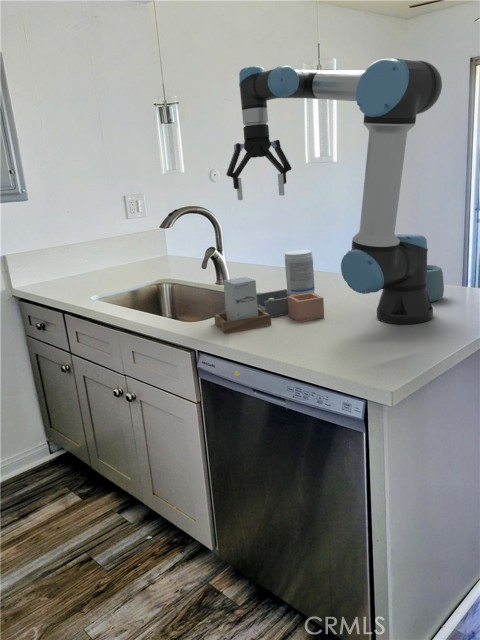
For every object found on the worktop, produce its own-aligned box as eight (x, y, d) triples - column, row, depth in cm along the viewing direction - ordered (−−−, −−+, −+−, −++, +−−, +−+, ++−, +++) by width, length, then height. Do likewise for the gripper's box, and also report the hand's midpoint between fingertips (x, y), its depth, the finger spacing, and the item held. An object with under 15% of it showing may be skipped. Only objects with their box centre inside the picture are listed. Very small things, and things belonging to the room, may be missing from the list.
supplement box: (236, 327, 149) (232, 284, 146) (226, 321, 156) (222, 279, 152) (259, 322, 152) (256, 279, 149) (249, 316, 159) (245, 275, 155)
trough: (271, 325, 151) (270, 315, 150) (224, 333, 147) (223, 323, 146) (259, 316, 161) (258, 306, 160) (215, 323, 157) (214, 314, 157)
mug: (398, 293, 172) (398, 263, 169) (433, 290, 171) (433, 260, 168) (411, 305, 158) (411, 272, 155) (449, 302, 157) (449, 269, 154)
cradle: (300, 312, 161) (299, 294, 160) (267, 318, 158) (265, 300, 157) (286, 303, 172) (285, 287, 170) (255, 309, 169) (253, 292, 167)
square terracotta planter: (324, 317, 154) (323, 297, 152) (299, 321, 152) (297, 301, 150) (312, 311, 161) (311, 292, 159) (288, 315, 159) (287, 296, 157)
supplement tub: (320, 292, 182) (318, 250, 178) (299, 298, 177) (296, 255, 173) (302, 288, 190) (300, 248, 186) (281, 294, 185) (278, 252, 181)
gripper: (289, 123, 162) (293, 193, 168) (212, 128, 156) (219, 201, 162) (299, 120, 156) (303, 193, 162) (218, 126, 149) (225, 202, 155)
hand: (261, 197), depth 162 cm, fingers open, 13 cm apart
